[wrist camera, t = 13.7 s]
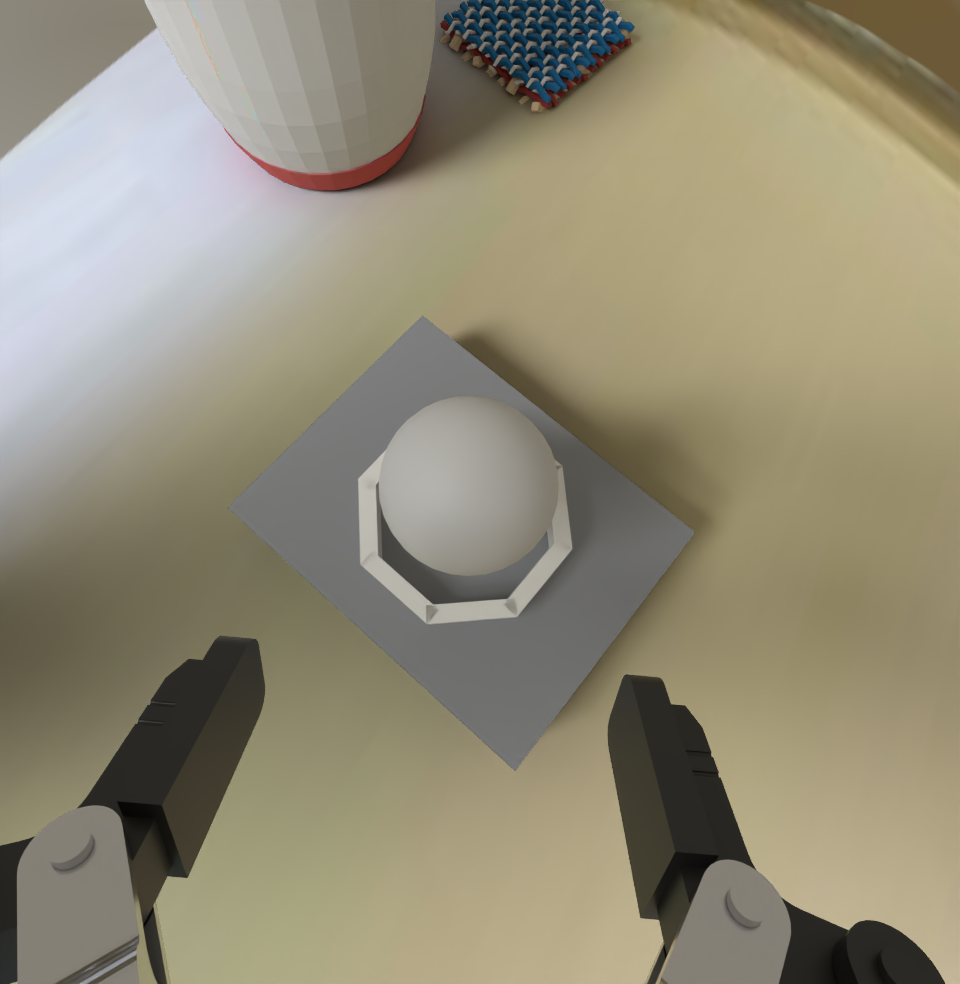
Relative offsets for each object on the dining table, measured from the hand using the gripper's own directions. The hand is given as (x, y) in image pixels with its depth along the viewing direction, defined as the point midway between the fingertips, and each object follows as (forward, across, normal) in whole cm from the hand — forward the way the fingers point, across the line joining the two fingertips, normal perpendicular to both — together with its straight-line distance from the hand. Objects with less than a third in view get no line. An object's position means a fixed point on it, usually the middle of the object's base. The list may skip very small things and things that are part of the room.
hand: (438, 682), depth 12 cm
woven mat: (+43, -2, -18) cm, 47 cm away
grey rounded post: (+14, 0, +5) cm, 15 cm away
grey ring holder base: (+17, 0, +8) cm, 19 cm away
